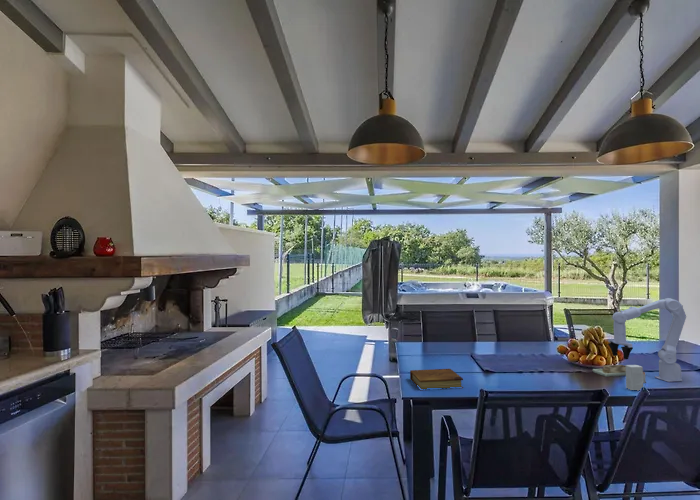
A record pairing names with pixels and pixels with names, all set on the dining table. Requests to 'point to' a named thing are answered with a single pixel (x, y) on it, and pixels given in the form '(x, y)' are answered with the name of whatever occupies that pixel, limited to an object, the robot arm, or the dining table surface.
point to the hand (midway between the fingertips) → (620, 357)
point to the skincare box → (634, 377)
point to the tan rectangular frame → (614, 369)
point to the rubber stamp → (644, 378)
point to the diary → (435, 378)
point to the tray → (599, 371)
